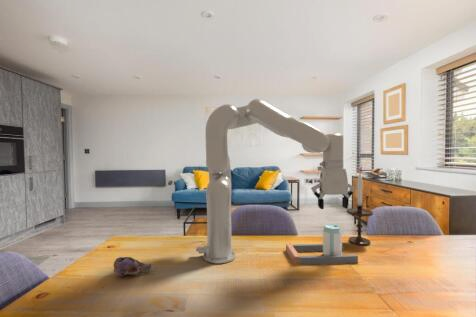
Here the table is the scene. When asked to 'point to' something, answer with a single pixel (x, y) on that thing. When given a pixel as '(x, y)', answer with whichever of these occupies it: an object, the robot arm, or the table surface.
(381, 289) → the table surface
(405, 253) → the table surface
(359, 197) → the candlestick
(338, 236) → the can
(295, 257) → the track
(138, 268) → the skull
